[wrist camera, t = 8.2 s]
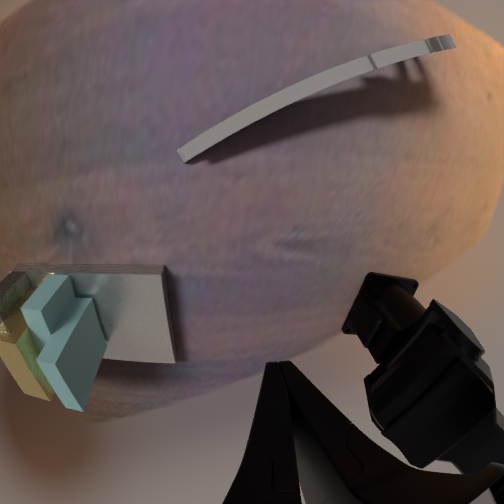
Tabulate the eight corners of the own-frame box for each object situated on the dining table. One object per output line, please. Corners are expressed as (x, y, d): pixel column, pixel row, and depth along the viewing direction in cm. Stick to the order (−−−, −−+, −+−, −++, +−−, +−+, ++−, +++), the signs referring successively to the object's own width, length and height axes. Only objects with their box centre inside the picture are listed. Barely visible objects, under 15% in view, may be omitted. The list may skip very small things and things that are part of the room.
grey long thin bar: (408, 44, 15) (459, 31, 9) (414, 55, 15) (466, 45, 9) (177, 150, 17) (155, 158, 11) (185, 163, 17) (168, 178, 12)
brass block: (56, 288, 18) (15, 344, 12) (76, 344, 21) (50, 401, 14) (31, 287, 18) (-10, 337, 11) (52, 340, 20) (24, 393, 14)
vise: (164, 264, 20) (145, 318, 14) (176, 351, 24) (170, 408, 18) (17, 263, 18) (-22, 301, 12) (45, 339, 22) (21, 382, 16)
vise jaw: (86, 275, 18) (42, 338, 11) (113, 361, 21) (93, 425, 15) (49, 274, 17) (2, 330, 11) (80, 357, 21) (56, 416, 14)
